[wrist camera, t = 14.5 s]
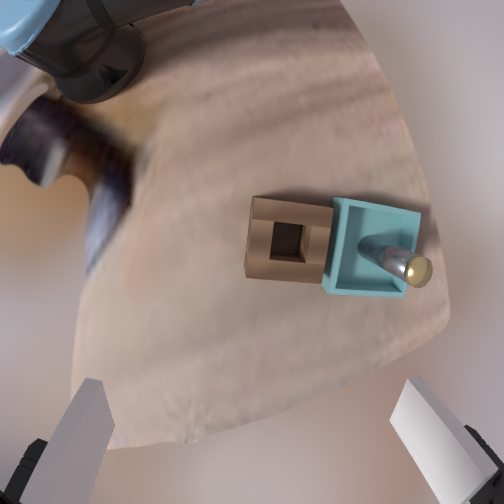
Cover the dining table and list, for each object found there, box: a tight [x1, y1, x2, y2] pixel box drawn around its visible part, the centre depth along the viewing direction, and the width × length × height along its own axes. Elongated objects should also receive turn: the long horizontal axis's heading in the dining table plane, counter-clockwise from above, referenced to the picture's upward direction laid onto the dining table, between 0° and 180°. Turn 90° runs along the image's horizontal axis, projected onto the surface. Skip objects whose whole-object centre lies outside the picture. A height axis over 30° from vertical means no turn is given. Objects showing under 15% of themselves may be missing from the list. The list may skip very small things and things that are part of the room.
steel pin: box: [358, 236, 433, 288], centre depth 35 cm, size 4×4×14 cm
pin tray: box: [320, 197, 421, 297], centre depth 40 cm, size 13×13×4 cm
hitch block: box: [244, 197, 334, 284], centre depth 39 cm, size 10×10×5 cm
